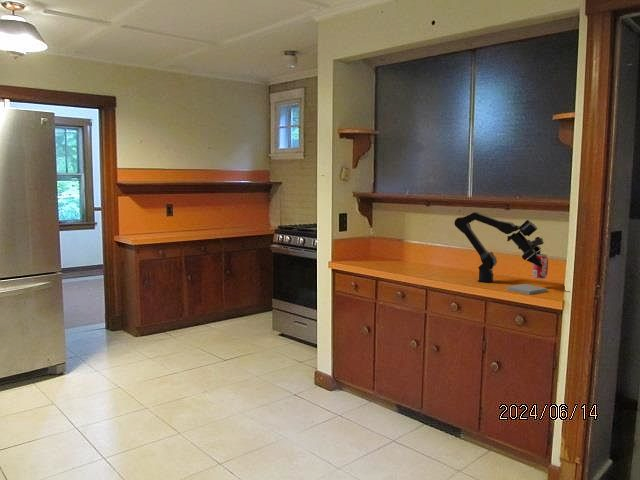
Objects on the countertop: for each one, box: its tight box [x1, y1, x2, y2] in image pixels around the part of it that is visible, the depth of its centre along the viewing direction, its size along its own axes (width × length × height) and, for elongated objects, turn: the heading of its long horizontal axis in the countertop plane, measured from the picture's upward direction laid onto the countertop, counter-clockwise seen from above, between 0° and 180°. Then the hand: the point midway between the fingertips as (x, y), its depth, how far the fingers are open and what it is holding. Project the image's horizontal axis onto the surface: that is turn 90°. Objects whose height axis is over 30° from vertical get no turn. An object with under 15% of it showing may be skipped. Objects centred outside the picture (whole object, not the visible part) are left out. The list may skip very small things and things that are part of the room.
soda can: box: [532, 253, 549, 280], centre depth 266 cm, size 7×7×12 cm
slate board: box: [506, 283, 548, 295], centre depth 260 cm, size 13×13×2 cm
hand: (543, 265), depth 265 cm, fingers closed on soda can, 7 cm apart
